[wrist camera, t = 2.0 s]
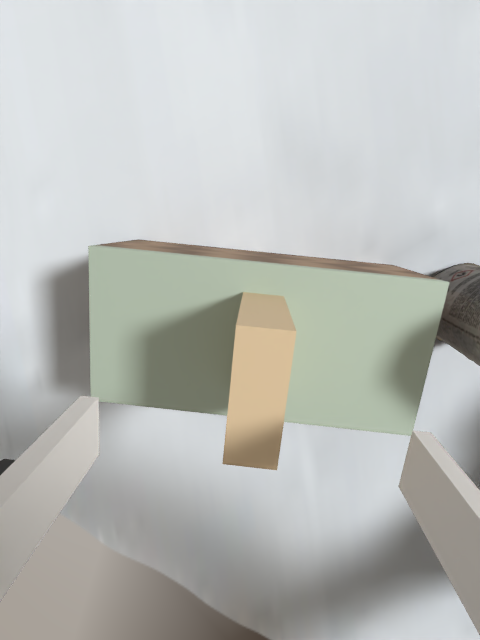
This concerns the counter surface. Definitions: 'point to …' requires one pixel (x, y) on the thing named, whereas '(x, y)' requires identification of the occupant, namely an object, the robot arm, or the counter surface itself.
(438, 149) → the counter surface
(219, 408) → the lid
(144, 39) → the counter surface
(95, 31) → the counter surface
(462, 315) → the spray can
